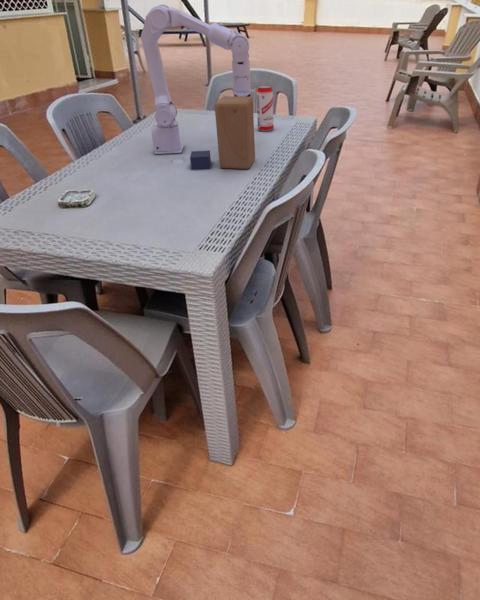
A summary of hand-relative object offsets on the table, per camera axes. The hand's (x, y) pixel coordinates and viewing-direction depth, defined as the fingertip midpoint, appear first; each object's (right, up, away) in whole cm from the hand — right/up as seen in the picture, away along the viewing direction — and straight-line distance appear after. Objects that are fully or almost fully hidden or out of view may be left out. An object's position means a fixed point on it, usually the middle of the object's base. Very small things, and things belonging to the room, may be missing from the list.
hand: (243, 119), depth 160 cm
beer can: (+8, +5, +23) cm, 25 cm away
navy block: (-14, -19, -9) cm, 25 cm away
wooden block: (-2, -18, -8) cm, 20 cm away
